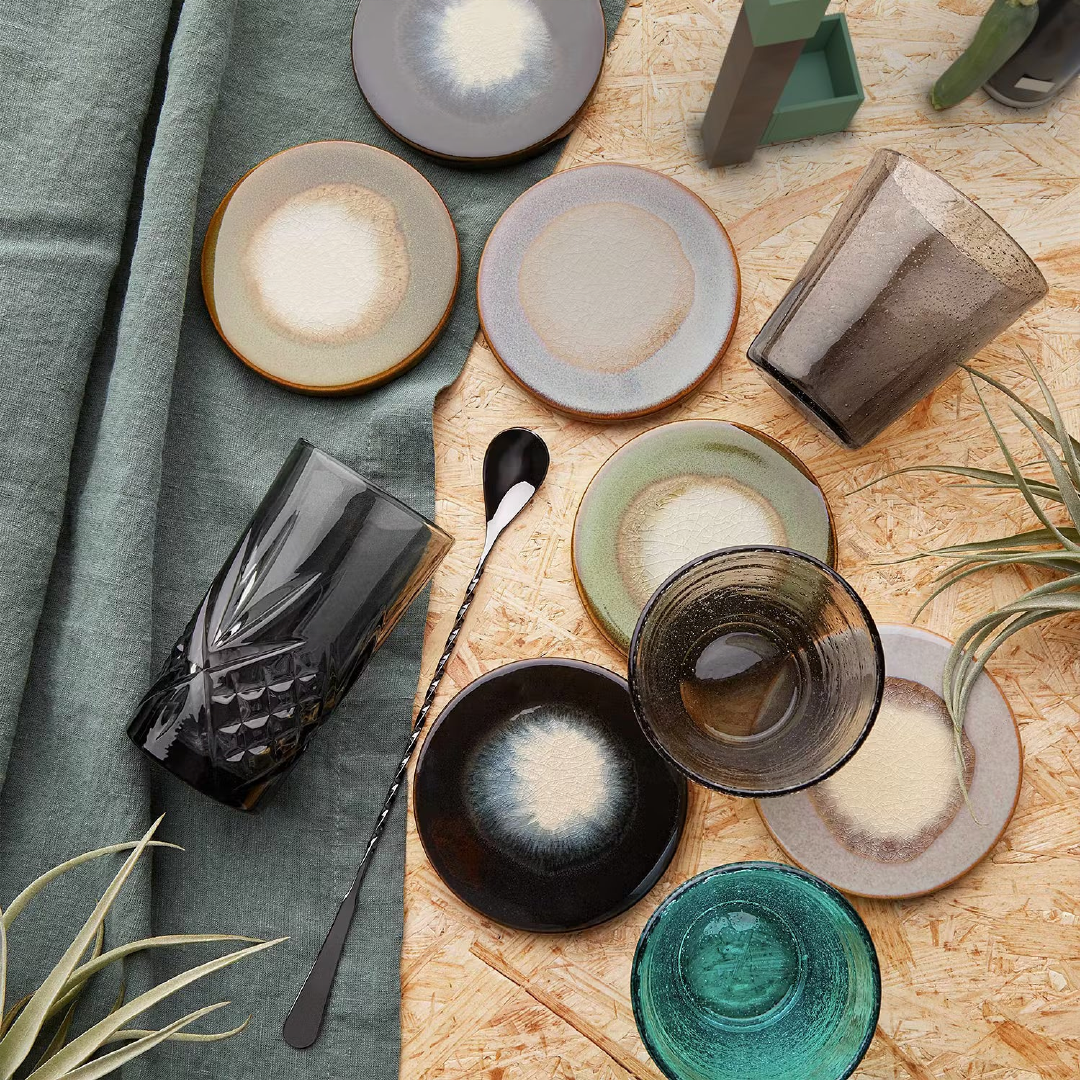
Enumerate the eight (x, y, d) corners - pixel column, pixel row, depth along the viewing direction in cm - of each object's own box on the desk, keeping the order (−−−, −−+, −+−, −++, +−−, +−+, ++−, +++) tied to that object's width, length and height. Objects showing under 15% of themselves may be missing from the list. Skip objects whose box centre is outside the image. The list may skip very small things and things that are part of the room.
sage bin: (826, 47, 97) (844, 11, 91) (845, 130, 96) (865, 98, 90) (740, 62, 96) (753, 27, 91) (758, 145, 95) (773, 114, 90)
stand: (741, 121, 96) (798, -16, 76) (750, 161, 95) (809, 34, 75) (699, 128, 96) (745, -7, 76) (708, 168, 95) (756, 43, 75)
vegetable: (964, 90, 96) (1078, -53, 77) (962, 129, 96) (1076, -5, 76) (922, 86, 96) (1024, -59, 76) (919, 125, 96) (1022, -10, 76)
